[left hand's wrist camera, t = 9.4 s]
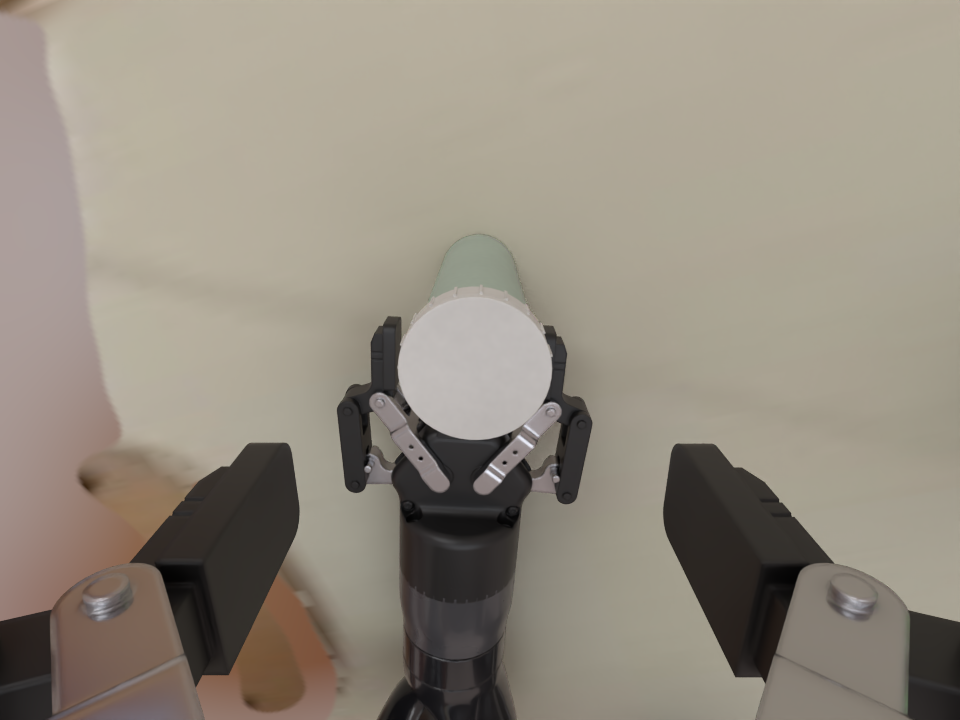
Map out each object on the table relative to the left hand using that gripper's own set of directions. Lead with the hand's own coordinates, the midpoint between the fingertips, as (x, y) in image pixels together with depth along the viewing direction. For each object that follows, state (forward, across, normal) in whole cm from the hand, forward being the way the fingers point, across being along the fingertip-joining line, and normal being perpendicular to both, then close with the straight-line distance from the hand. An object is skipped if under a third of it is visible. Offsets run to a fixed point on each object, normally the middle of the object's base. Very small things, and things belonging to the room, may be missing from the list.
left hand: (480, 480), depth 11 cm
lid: (+8, 0, +1) cm, 8 cm away
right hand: (+18, 0, +2) cm, 19 cm away
